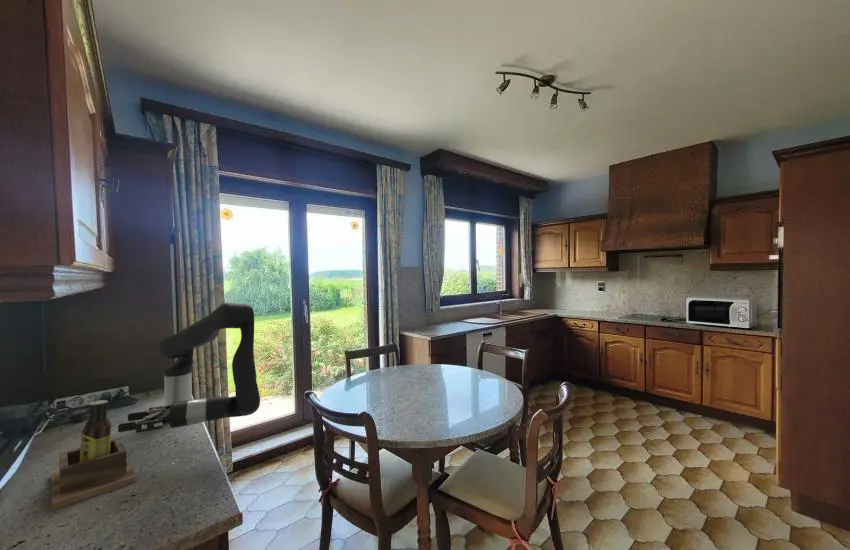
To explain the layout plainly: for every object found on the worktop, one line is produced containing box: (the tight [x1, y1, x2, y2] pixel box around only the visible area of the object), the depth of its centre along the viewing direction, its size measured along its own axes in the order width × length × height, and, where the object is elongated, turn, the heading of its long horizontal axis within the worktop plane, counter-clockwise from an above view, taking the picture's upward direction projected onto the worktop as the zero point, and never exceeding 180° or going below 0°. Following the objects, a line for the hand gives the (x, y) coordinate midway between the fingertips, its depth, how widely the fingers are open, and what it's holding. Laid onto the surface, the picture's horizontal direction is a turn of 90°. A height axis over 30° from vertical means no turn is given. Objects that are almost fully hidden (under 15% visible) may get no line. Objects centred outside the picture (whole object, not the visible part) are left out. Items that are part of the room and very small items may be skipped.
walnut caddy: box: [51, 437, 137, 511], centre depth 98 cm, size 22×16×8 cm
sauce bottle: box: [80, 399, 112, 462], centre depth 99 cm, size 7×6×20 cm
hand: (123, 422), depth 101 cm, fingers open, 8 cm apart
